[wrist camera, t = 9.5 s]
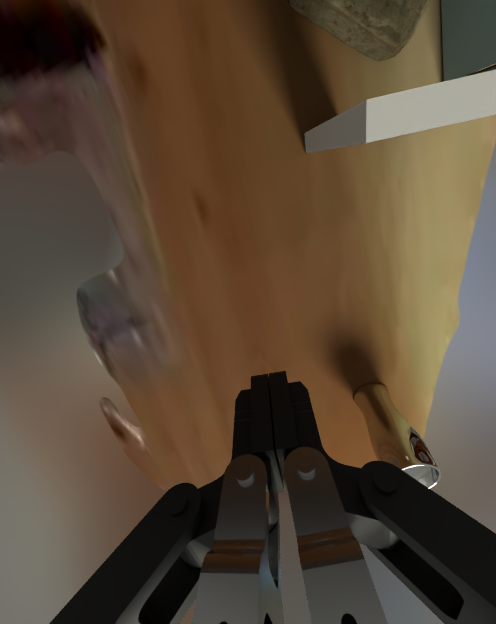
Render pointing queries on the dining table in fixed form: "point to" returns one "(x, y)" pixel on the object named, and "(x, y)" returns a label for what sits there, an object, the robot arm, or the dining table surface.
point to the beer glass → (395, 435)
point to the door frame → (407, 112)
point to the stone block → (366, 22)
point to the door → (468, 37)
